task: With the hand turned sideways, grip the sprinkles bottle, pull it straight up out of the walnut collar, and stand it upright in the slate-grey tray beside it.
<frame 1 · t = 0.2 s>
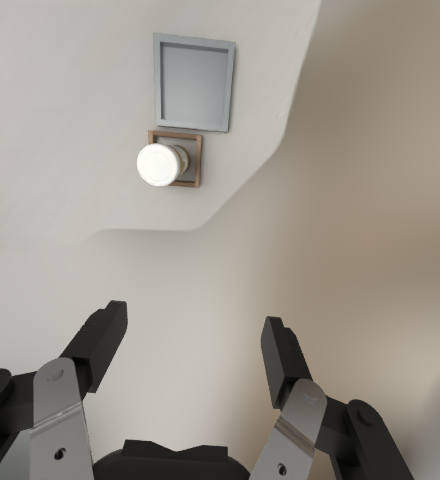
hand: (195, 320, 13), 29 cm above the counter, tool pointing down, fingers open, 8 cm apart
walnut collar: (176, 159, 36), on the counter
sprinkles bottle: (176, 159, 37), resting in walnut collar
slate tray: (194, 89, 33), on the counter
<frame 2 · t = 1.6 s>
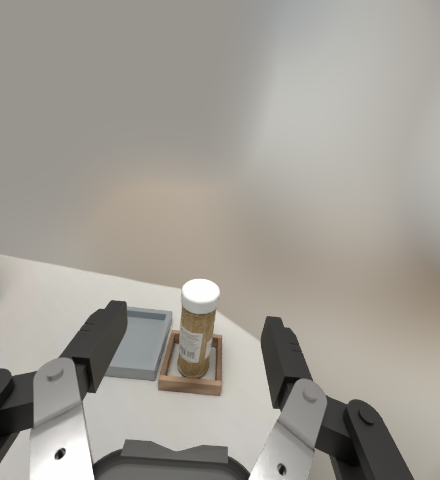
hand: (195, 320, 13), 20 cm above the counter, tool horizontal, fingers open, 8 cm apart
walnut collar: (193, 364, 32), on the counter
sprinkles bottle: (192, 365, 32), resting in walnut collar
slate tray: (129, 342, 34), on the counter
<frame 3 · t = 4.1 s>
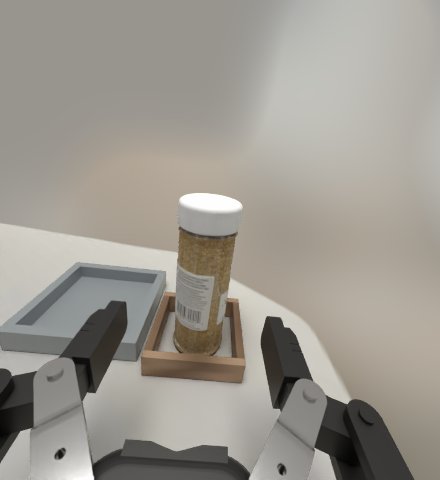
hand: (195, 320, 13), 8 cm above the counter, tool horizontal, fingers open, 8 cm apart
walnut collar: (196, 338, 21), on the counter
sprinkles bottle: (196, 340, 21), resting in walnut collar
slate tray: (102, 310, 23), on the counter
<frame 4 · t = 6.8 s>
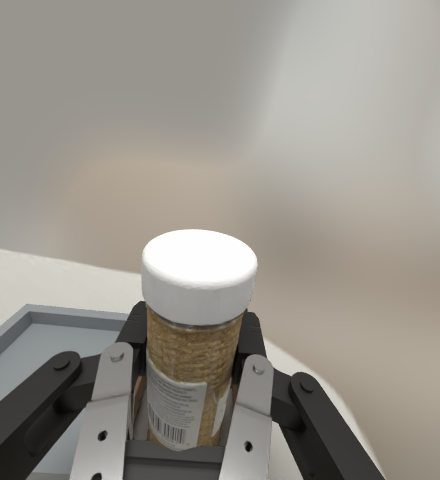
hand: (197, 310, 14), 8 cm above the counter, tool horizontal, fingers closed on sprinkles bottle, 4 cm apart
walnut collar: (183, 434, 14), on the counter
sprinkles bottle: (183, 436, 14), resting in walnut collar, touching gripper
slate tray: (50, 382, 16), on the counter
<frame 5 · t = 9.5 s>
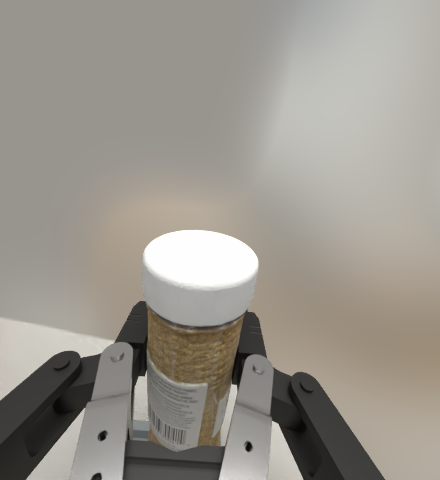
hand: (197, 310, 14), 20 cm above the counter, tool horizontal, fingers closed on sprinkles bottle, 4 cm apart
sprinkles bottle: (183, 437, 14), point 12 cm above the counter, touching gripper
when the fingers open (9 cm above the counter, at t = 12.4 s): sprinkles bottle stays where it is, resting on slate tray.
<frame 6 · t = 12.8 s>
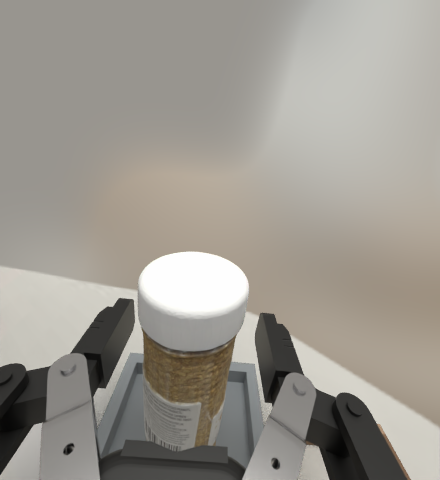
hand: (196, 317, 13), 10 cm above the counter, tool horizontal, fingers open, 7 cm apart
sprinkles bottle: (179, 449, 15), resting on slate tray
slate tray: (181, 449, 15), on the counter
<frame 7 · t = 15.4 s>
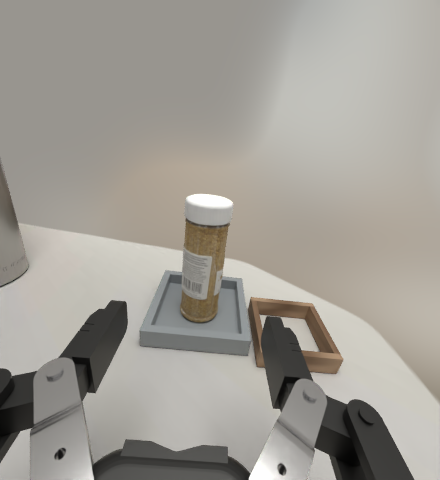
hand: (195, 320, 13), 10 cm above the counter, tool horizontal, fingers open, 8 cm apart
walnut collar: (286, 337, 25), on the counter
sprinkles bottle: (198, 311, 26), resting on slate tray
slate tray: (199, 312, 27), on the counter
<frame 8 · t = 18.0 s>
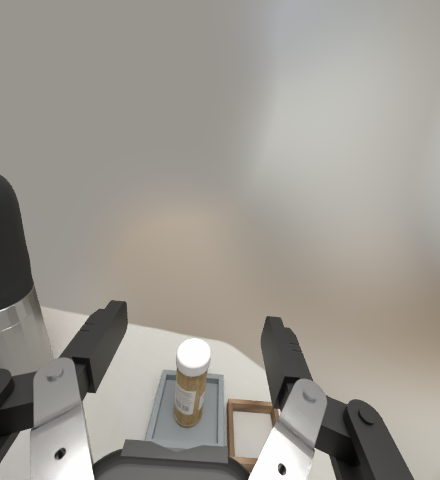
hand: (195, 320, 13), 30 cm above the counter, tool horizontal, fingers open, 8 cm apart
walnut collar: (253, 436, 33), on the counter
sprinkles bottle: (187, 412, 35), resting on slate tray
slate tray: (188, 412, 35), on the counter
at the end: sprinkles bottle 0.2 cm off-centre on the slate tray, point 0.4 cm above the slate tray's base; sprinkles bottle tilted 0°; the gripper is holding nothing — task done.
